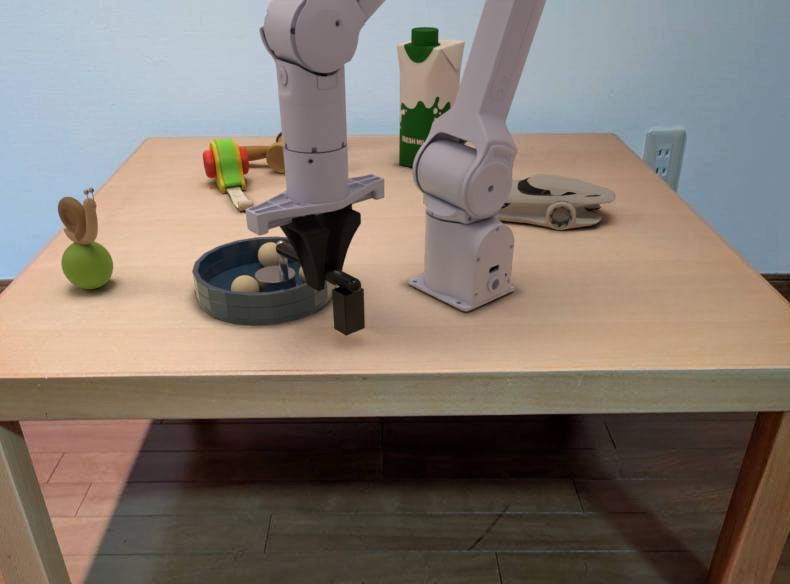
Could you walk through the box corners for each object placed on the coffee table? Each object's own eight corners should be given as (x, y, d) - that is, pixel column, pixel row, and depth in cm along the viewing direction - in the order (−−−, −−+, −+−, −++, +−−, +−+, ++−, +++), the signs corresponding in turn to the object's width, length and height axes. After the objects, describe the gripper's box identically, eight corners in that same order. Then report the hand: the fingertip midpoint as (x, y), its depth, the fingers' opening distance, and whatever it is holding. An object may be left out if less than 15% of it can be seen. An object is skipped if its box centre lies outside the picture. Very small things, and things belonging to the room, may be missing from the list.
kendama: (217, 182, 117) (326, 169, 114) (209, 140, 114) (320, 126, 111) (233, 175, 124) (336, 163, 121) (226, 136, 121) (331, 123, 118)
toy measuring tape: (241, 169, 118) (236, 127, 115) (268, 209, 103) (264, 162, 100) (201, 173, 117) (195, 131, 113) (224, 215, 102) (217, 168, 98)
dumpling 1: (266, 301, 78) (262, 273, 78) (241, 305, 76) (237, 276, 76) (252, 302, 81) (248, 274, 80) (228, 305, 79) (224, 277, 78)
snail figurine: (96, 303, 80) (68, 196, 73) (58, 290, 83) (27, 186, 76) (133, 285, 84) (110, 181, 77) (96, 272, 87) (70, 171, 80)
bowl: (361, 294, 81) (360, 265, 79) (244, 340, 74) (240, 309, 71) (284, 253, 91) (281, 226, 89) (173, 289, 83) (167, 261, 81)
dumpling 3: (321, 291, 83) (335, 275, 81) (302, 293, 81) (316, 277, 79) (308, 269, 84) (322, 253, 82) (289, 271, 81) (303, 255, 79)
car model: (439, 193, 108) (441, 159, 105) (609, 204, 104) (615, 168, 101) (428, 221, 99) (429, 185, 96) (613, 234, 95) (620, 196, 92)
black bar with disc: (248, 285, 80) (242, 235, 77) (281, 274, 83) (276, 225, 80) (342, 342, 70) (339, 286, 67) (377, 327, 72) (376, 273, 69)
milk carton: (391, 166, 119) (390, 29, 107) (419, 151, 125) (421, 20, 113) (438, 174, 115) (443, 33, 103) (464, 159, 121) (472, 25, 110)
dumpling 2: (258, 272, 85) (273, 272, 87) (278, 261, 83) (292, 261, 86) (249, 249, 85) (263, 249, 87) (268, 237, 83) (282, 238, 86)
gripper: (350, 121, 71) (355, 251, 79) (220, 150, 63) (239, 291, 71) (399, 135, 67) (398, 272, 75) (265, 169, 59) (279, 317, 67)
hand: (323, 283), depth 73 cm, fingers closed on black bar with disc
